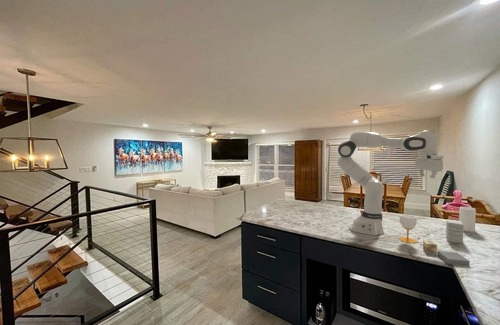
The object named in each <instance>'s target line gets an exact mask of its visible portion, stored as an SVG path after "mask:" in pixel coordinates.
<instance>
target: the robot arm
mask: <svg viewBox="0 0 500 325" xmlns="http://www.w3.org/2000/svg"><path fill="white" fill-rule="evenodd" d="M438 140H439V139H438V134H437V132H435V131H432V130H422V131H420V132H419V133H416V134H413V135H411V136H407V137H406V136H405V137H402V138H395V137H386V136H384V135H381V134H379V133H376V132H371V131H370V132H368V131H356V132H353V133H352V134H351V135H350V137H349V140H348V141H343V142H341V143H340V144H339V145H338V148H337V152H338V154H339V156H340V157H339V158H338V159H337V166H338V167H339V168H340V169H341V171H343V172H344V173H345V174H346V175H347V176H349V178H351V179H352V180H353V181H355V182H356V183H357V184H358V185H360V186H361V187H362V188H363V189H364V190H365V194H364V199H363V200H364V202H363V205H364V206H363V208H364V209H363V210H362V209H360V211H359V212H360V216H358V217H356V218H354V219H353V221H352V223H351V224H350V225H349V227H348V228H349V230H350V231H351V232H354V233H358V234H365V235H370V236H378V235H383V234H384V233H385V231H384V228H383V227H384V226H383V222H382V221H383V213H382V209H383V208H382V205H383V197H384V196H383V195H384V184H383V183H382V182H381V181H380V180H379V179H377V178H376V177H375V176H374V175H373V174H371V173H370V172H369V171H367V170H366V169H365V168H364V167H363V166H361V165H360V164H359V163H358V162H357V161H355V160H354V159H353V157H352V155H353V154H354V153H355V151H356V149H357V148H367V149H369V148H371V149H376V148H382V147H387V148H398V149H400V150H402V151H404V152H416V151H417V150H418V151H419V154H418V156H417V157H416V159H415V163H414V168H415V170H418V171H419V175H420V177H425V173H424V171H430V172H431V174H430V177H429V178H431V179H435V178H436V175H437V173H439V172H440V173H441V172H443V168H444V162H443V159H444V155H442V154H441V153H438V149H437V148H438V142H439V141H438Z"/></svg>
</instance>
